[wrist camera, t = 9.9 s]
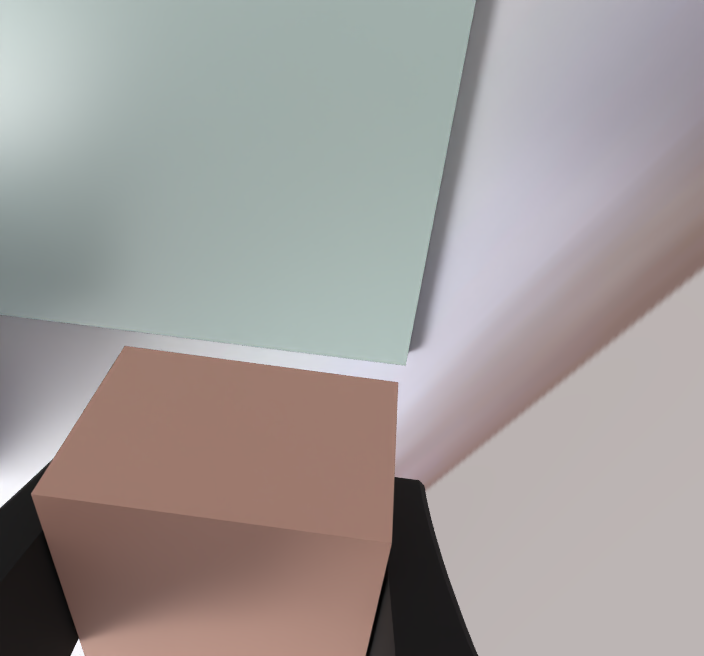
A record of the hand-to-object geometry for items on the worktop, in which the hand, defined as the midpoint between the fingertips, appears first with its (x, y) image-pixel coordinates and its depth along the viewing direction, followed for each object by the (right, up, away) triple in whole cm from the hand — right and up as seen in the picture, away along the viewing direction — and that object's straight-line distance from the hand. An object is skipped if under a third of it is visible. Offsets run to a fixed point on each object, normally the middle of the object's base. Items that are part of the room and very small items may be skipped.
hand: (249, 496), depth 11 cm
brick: (0, +1, +1) cm, 1 cm away
